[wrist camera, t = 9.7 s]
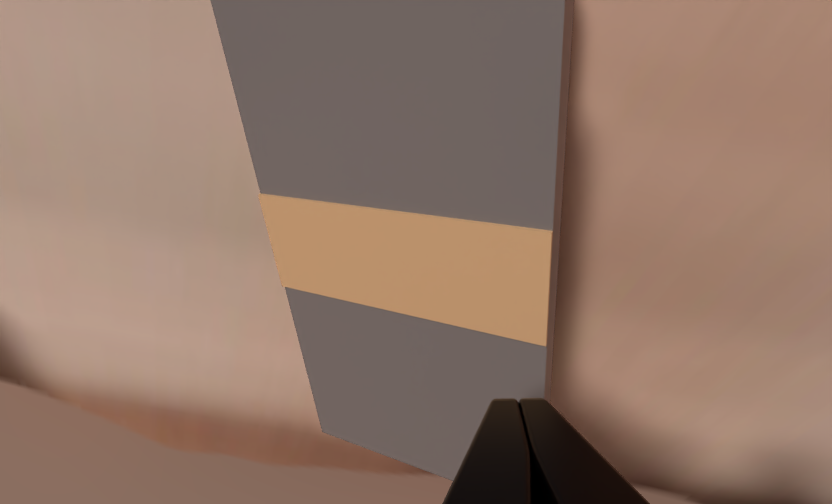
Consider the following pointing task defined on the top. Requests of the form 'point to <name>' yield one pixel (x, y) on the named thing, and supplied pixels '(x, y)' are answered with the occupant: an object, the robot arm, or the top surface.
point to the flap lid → (410, 202)
